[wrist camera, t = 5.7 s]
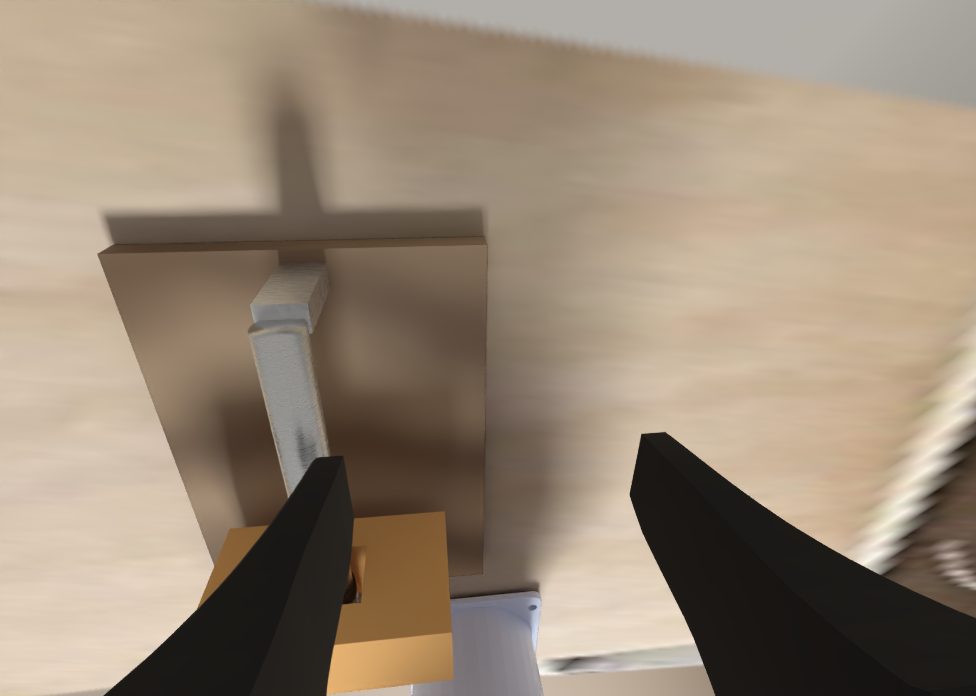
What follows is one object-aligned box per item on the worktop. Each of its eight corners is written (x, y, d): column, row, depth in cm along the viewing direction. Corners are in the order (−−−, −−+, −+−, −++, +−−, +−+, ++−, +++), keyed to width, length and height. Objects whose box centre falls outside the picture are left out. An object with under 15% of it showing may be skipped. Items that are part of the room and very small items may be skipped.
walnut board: (480, 557, 28) (482, 573, 27) (232, 580, 26) (226, 598, 26) (484, 236, 19) (487, 245, 18) (113, 244, 18) (97, 254, 17)
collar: (446, 556, 24) (453, 679, 19) (245, 574, 23) (199, 709, 18) (444, 511, 23) (452, 632, 18) (229, 528, 22) (175, 661, 17)
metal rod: (375, 577, 26) (366, 677, 22) (339, 581, 26) (323, 682, 22) (328, 262, 18) (301, 324, 14) (276, 263, 18) (231, 327, 13)
